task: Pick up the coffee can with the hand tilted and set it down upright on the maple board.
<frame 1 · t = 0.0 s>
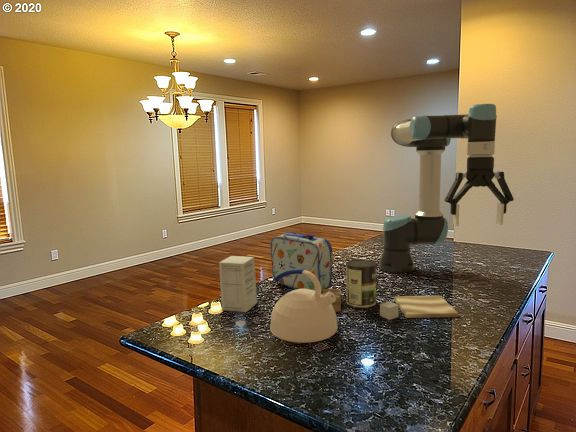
hand: (477, 224, 127), 28 cm above the counter, tool pointing down, fingers open, 13 cm apart
walnut block: (330, 309, 135), on the counter
beige cubic piece: (389, 316, 128), on the counter
supplement box: (239, 307, 140), on the counter
maple board: (424, 307, 134), on the counter
kettle: (304, 328, 121), on the counter
oak block: (331, 302, 142), on the counter
lunch box: (302, 288, 158), on the counter
coffee can: (360, 302, 141), on the counter
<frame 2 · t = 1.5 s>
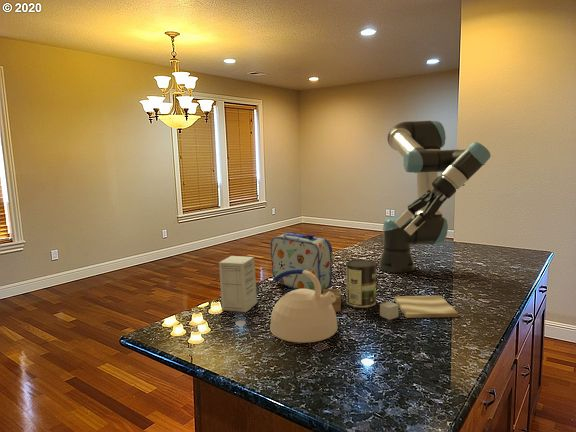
hand: (401, 228, 136), 26 cm above the counter, tool tilted 45°, fingers open, 13 cm apart
nothing on the counter moved.
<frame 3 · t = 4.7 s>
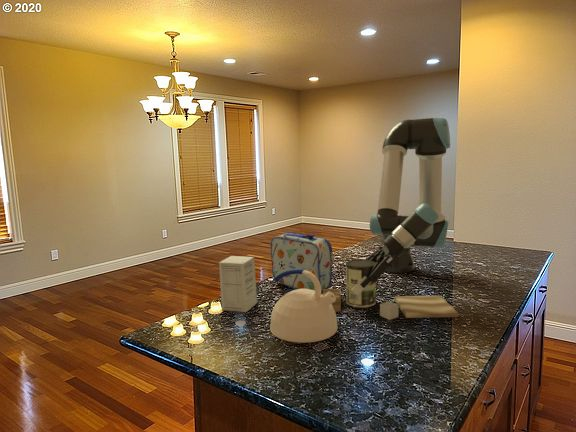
hand: (352, 287, 140), 6 cm above the counter, tool tilted 45°, fingers closed on coffee can, 10 cm apart
coffee can: (360, 302, 141), on the counter, touching gripper
everything else where it was.
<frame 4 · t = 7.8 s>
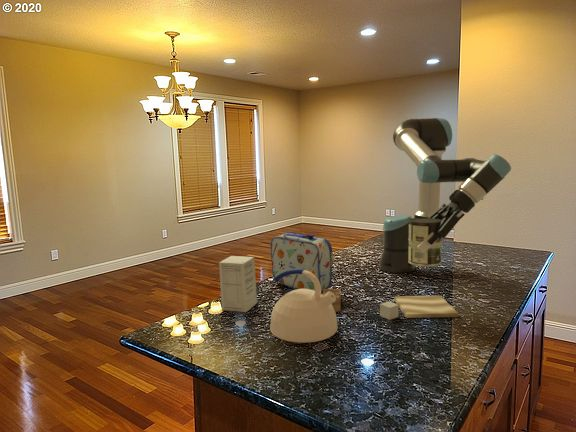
hand: (415, 246, 131), 21 cm above the counter, tool tilted 45°, fingers closed on coffee can, 10 cm apart
coffee can: (424, 263, 132), point 15 cm above the counter, touching gripper
everything else where it was.
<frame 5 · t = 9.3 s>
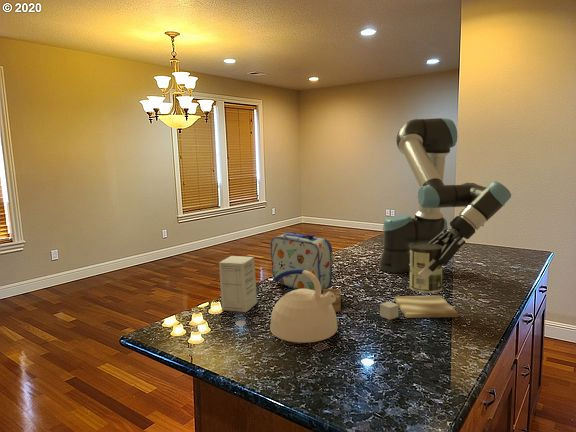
hand: (416, 271, 132), 13 cm above the counter, tool tilted 45°, fingers closed on coffee can, 10 cm apart
coffee can: (425, 288, 132), point 7 cm above the counter, touching gripper
everything else where it was.
when the fingers open (8 cm above the counter, at t = 10.7 s): coffee can drops 1 cm, resting on maple board.
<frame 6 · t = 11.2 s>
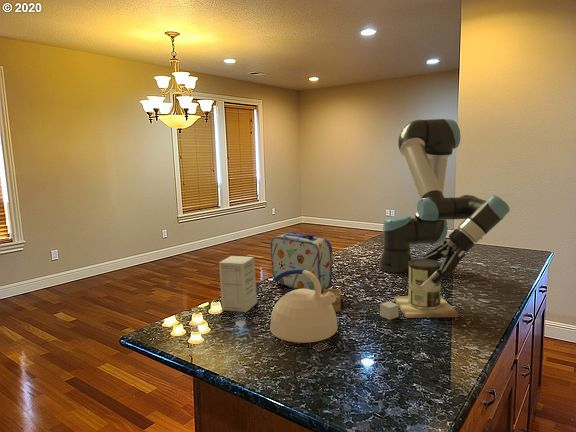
hand: (417, 282, 133), 9 cm above the counter, tool tilted 45°, fingers open, 13 cm apart
coffee can: (423, 304, 134), point 1 cm above the counter, touching maple board
everything else where it was.
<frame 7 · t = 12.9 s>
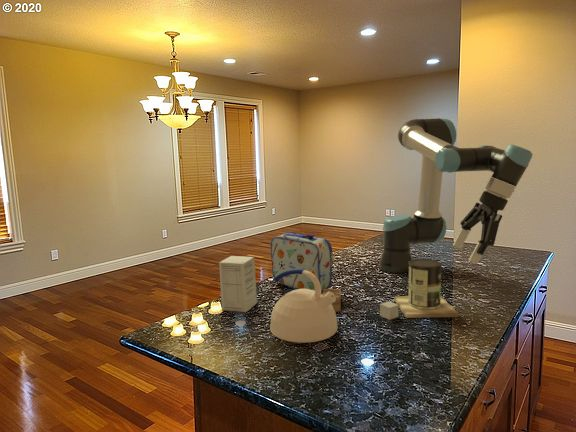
hand: (464, 254, 131), 18 cm above the counter, tool tilted 25°, fingers open, 13 cm apart
nothing on the counter moved.
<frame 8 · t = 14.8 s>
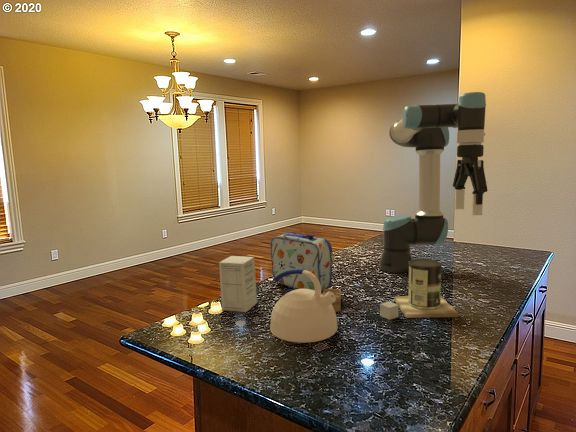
hand: (467, 212, 129), 32 cm above the counter, tool pointing down, fingers open, 13 cm apart
nothing on the counter moved.
at the end: coffee can inside the target area (0.3 cm from its centre), point 1.0 cm above the counter; coffee can tilted 0°; the gripper is holding nothing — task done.
